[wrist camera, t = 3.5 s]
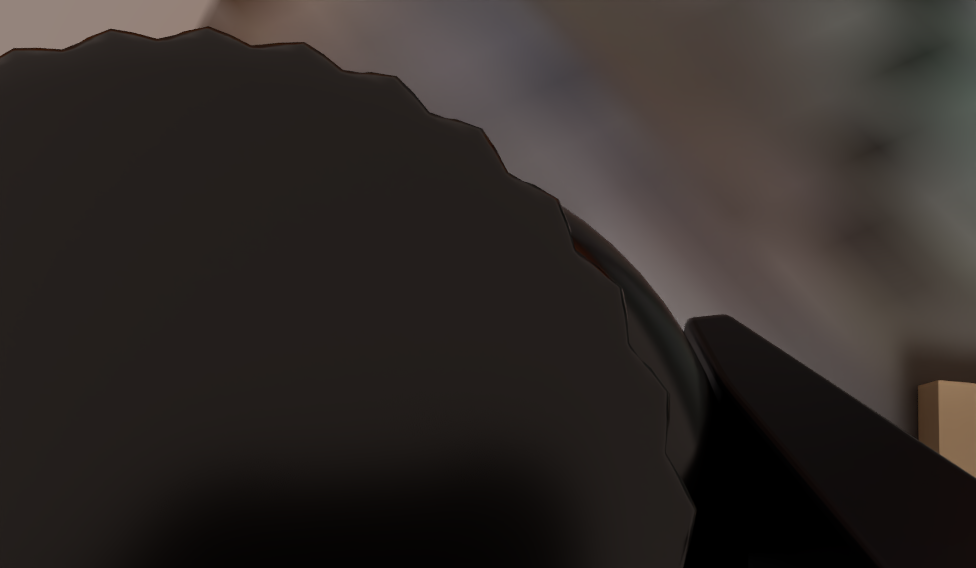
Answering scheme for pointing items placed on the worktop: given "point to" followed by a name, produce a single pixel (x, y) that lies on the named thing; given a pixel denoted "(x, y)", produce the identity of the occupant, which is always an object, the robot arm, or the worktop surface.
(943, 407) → the oak board
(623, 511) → the supplement bottle
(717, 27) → the worktop surface
